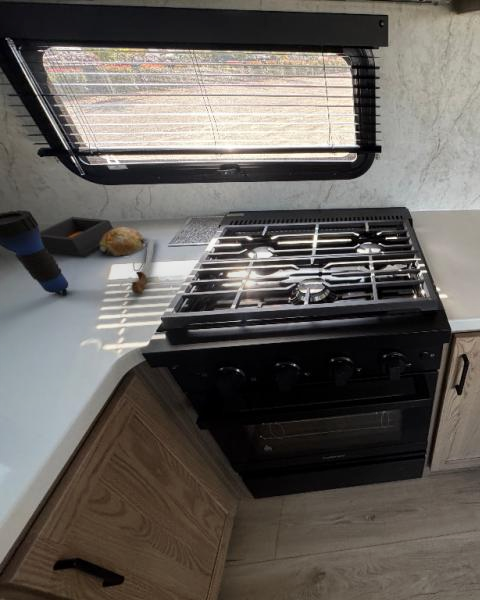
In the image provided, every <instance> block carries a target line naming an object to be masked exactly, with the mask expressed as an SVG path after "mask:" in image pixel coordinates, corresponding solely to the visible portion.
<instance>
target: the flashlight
mask: <svg viewBox="0 0 480 600" xmlns="http://www.w3.org/2000/svg"><path fill="white" fill-rule="evenodd" d="M40 232H41V231H40V227H39V223H38V222H37V220H36V219H35V217H34V216H33V214H32V212H30V210H29V211H28V210H14V211H13V210H10V211H7V212H0V247H1V248H4V249H6V250H8V251H10V252H12V253H15V257H16V259H17V260H18V261H19V262H20V263H21V264H22V266H23V268H25V270H26V271H27V272H28V274H29V275H30V276H31V278H32V279H33V280H35V281H37V283H38V284H39V285H40V286H41V287H42V289H43V290H44V291H45V292H47V293H50V294H56V295H58V296H63V297H64V296H67V295H68V290H67V289H68V287H69V281H68V280H67V278H66V277H65V276H64V274H63V273H62V269H61V268H60V267H59V264H58V263H57V261H56V260H55V258H54V257H53V255H52V254H51V253H50V252H49V251H48V249H47V248H46V247H44V245H43V244H42V240H41V236H40Z"/></svg>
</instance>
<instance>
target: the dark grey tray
mask: <svg viewBox="0 0 480 600" xmlns="http://www.w3.org/2000/svg"><path fill="white" fill-rule="evenodd" d="M112 229H114V226H113V225H112V223H111V221H110V220H108V219H100V218H99V219H98V218H89V217H80V216H79V217H78V216H71V217H69V218H67V219H64V220H62V221H60V222H58V223H56V224H54V225H52V226H49V227H47V228H45V229H43V230H41V231H40V236H41V240H42V244H43V245H44V247H46V248H47V249H48V251H49V252H50V254H51V255H52V254H53V255H61V256H71V257H80V258H87V257H88V256H90V255H92V254H94V253H95V252H97V251H99V250H101V247H100V244H99V243H100V242H101V240H102V237H103V236H104V235H105V234H106V233H107V232H109V231H110V230H112Z"/></svg>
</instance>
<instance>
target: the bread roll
mask: <svg viewBox="0 0 480 600" xmlns="http://www.w3.org/2000/svg"><path fill="white" fill-rule="evenodd" d="M99 244H100V247H101V248H100V252H101V253H102V254H106V255H107V256H114V257H120V256H126V255H130V254H131V255H132V254H133V253H136V252H138V251H140V250H141V249H142V248H145V247H146V244H145V241H144V237H143V235H142V234H141V233H140V232H139V231H138V230H136V229H133V228H131V227H126V226H120V227H115V228H113V229H112V230H110V231H109V232H107V233H106V234H105V235H104V236H103V237H102V240H101V242H100V243H99Z"/></svg>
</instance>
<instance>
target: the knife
mask: <svg viewBox="0 0 480 600" xmlns="http://www.w3.org/2000/svg"><path fill="white" fill-rule="evenodd" d="M154 243H155V240H154V239H151V240H150V241H149V242H148V244H147V250H146V259H145V263H144V266H143V268H142V270H140V271H136V272H135V273H136V275H137V277H138V281H132V283H131V290H132V293H134V294H142V293H143V291H144V290H145V287H146V284H147V282H148V276H149V271H150V268H151V263H152V259H153V253H154V246H155V245H154Z"/></svg>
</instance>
